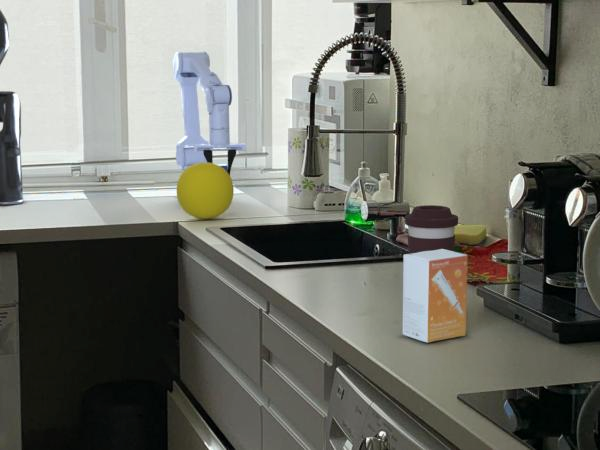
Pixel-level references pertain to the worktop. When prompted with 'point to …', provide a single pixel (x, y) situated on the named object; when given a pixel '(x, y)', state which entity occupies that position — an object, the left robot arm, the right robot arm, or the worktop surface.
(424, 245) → the coffee cup
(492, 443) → the worktop surface
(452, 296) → the small box
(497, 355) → the worktop surface
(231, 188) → the toy
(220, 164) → the block
